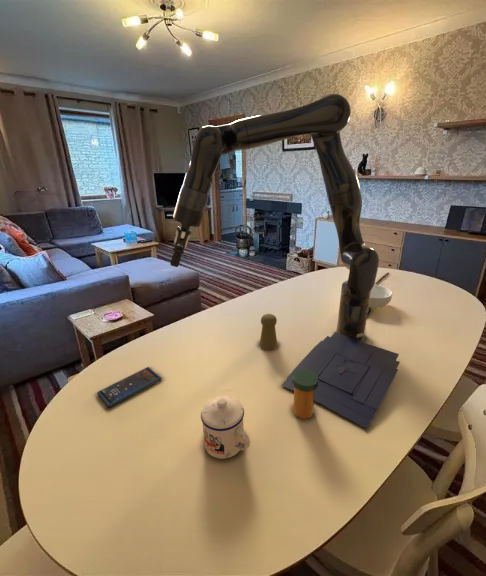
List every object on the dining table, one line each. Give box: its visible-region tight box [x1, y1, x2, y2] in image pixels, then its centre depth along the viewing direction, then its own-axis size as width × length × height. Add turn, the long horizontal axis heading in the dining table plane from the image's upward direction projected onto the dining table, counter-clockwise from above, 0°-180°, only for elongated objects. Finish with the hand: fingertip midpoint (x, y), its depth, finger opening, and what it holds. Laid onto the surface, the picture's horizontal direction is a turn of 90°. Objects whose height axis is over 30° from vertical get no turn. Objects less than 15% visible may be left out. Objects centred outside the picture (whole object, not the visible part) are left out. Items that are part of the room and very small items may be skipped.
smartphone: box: [96, 366, 162, 408], centre depth 84 cm, size 8×1×15 cm
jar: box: [292, 388, 315, 420], centre depth 74 cm, size 5×5×10 cm
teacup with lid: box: [200, 395, 251, 460], centre depth 65 cm, size 12×9×12 cm
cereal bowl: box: [368, 283, 393, 310], centre depth 131 cm, size 17×17×7 cm
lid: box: [292, 370, 318, 392], centre depth 73 cm, size 6×6×2 cm
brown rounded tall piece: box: [259, 313, 278, 351], centre depth 102 cm, size 6×6×11 cm
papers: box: [281, 331, 401, 429], centre depth 88 cm, size 24×30×4 cm
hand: (175, 261), depth 87 cm, fingers open, 8 cm apart
